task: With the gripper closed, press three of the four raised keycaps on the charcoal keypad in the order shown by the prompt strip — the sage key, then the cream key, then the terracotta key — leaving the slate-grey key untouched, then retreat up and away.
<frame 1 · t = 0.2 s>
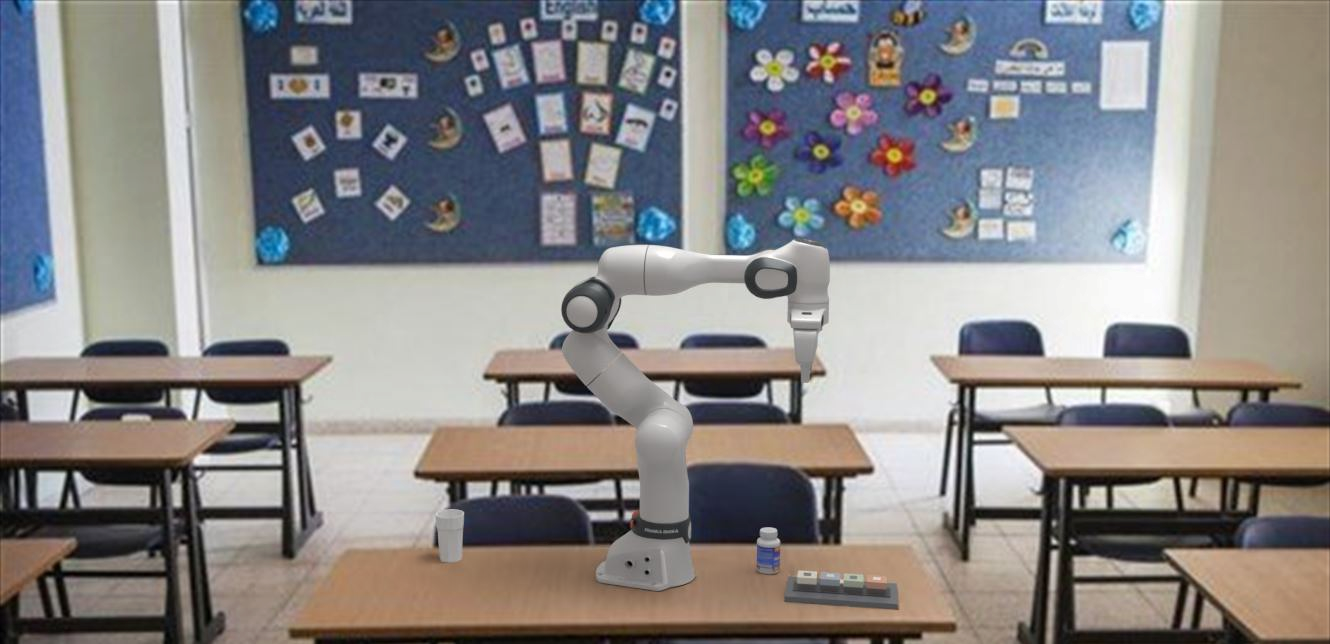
hand: (806, 377, 270), 47 cm above the table, fingers open, 8 cm apart
keypad base: (841, 595, 272), on the table
pill bottle: (768, 571, 287), on the table
sage key: (853, 580, 271), point 4 cm above the table, slide at 0.0 cm
slate key: (830, 578, 272), point 4 cm above the table, slide at 0.0 cm
cup: (450, 559, 293), on the table
terracotta key: (876, 581, 270), point 4 cm above the table, slide at 0.0 cm
cream key: (807, 577, 273), point 4 cm above the table, slide at 0.0 cm
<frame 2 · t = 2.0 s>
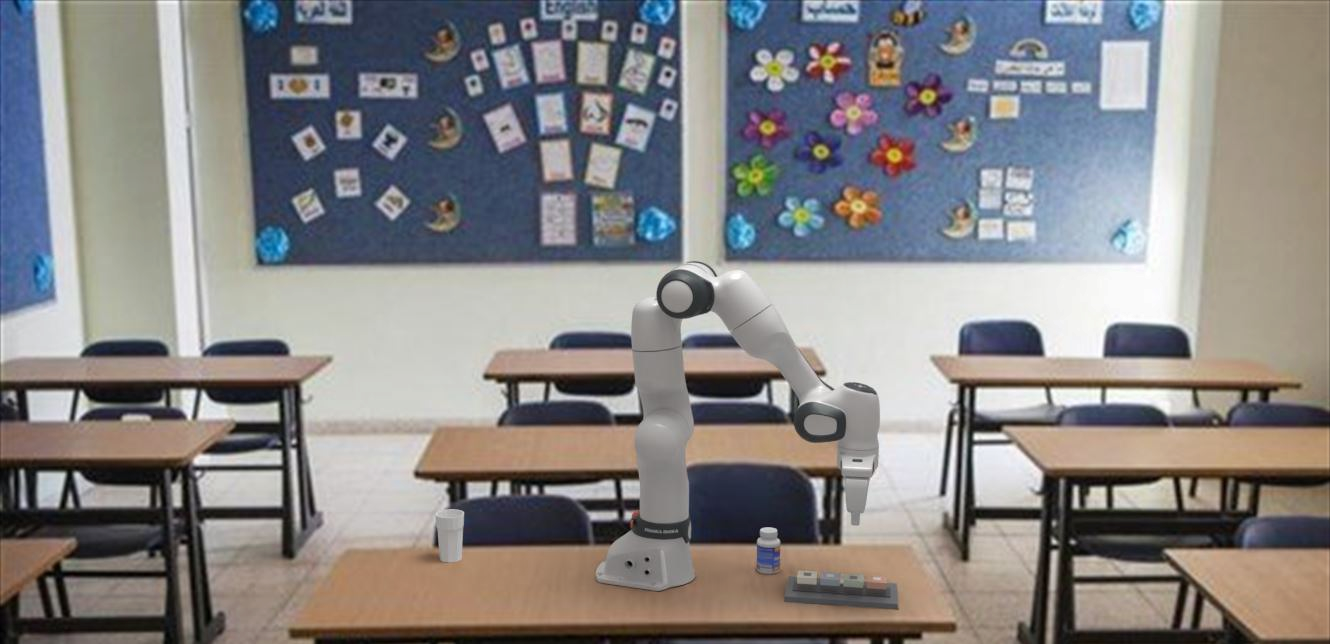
hand: (855, 520, 269), 17 cm above the table, fingers open, 4 cm apart
nothing on the table moved.
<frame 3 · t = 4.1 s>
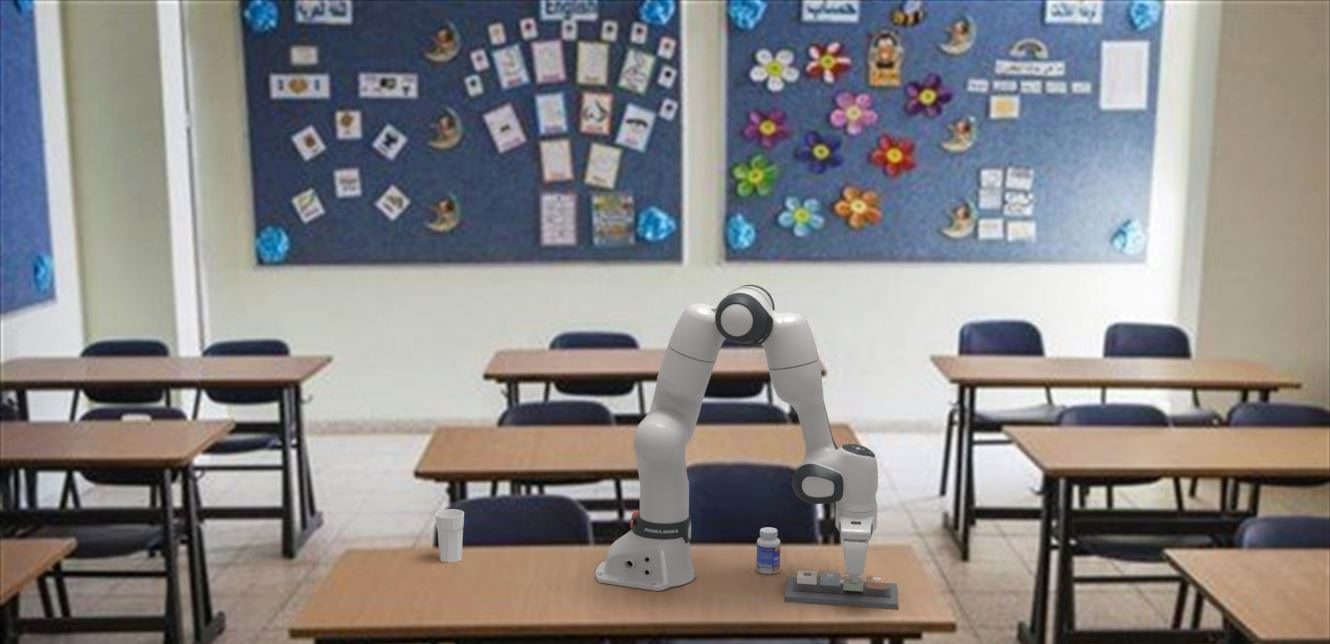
hand: (854, 580, 271), 4 cm above the table, fingers closed, pressing on sage key
sage key: (853, 583, 271), point 3 cm above the table, slide at 0.8 cm, touching gripper
everything else where it was.
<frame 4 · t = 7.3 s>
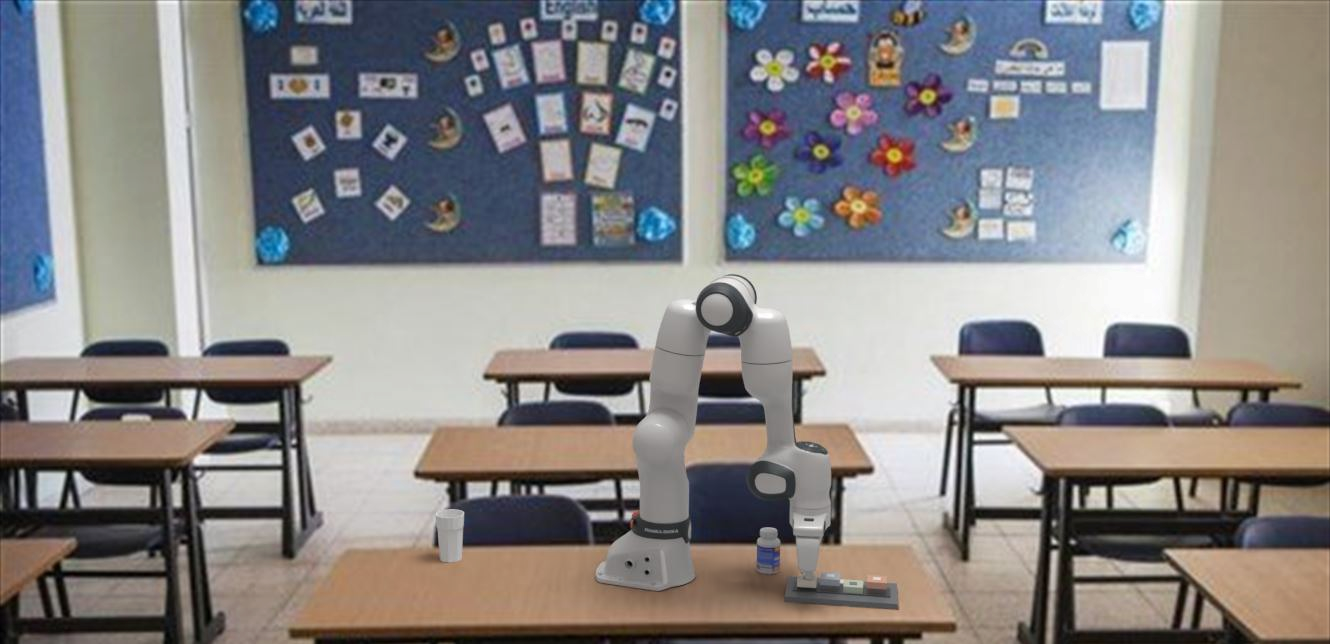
hand: (809, 577, 273), 4 cm above the table, fingers closed, pressing on cream key
sage key: (853, 586, 272), point 2 cm above the table, slide at 1.4 cm, touching keypad base
cream key: (807, 580, 273), point 3 cm above the table, slide at 0.8 cm, touching gripper
everything else where it was.
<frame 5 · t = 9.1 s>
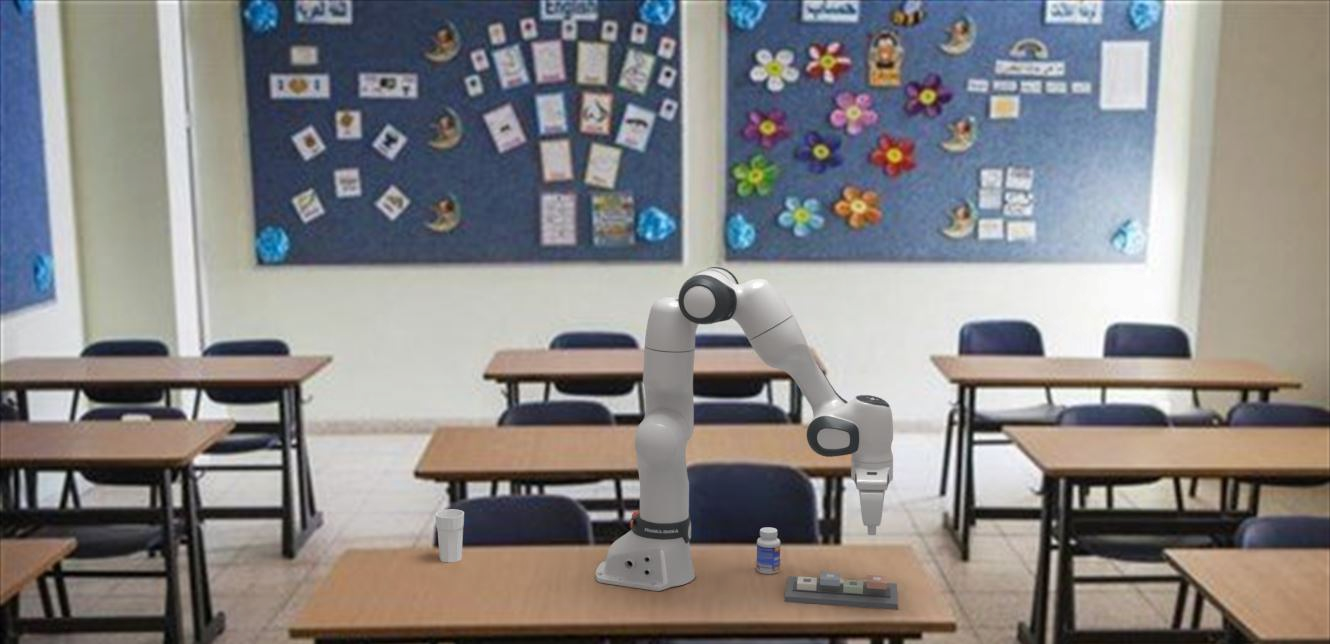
hand: (871, 533, 269), 15 cm above the table, fingers closed
cream key: (807, 583, 273), point 2 cm above the table, slide at 1.4 cm, touching keypad base
everything else where it was.
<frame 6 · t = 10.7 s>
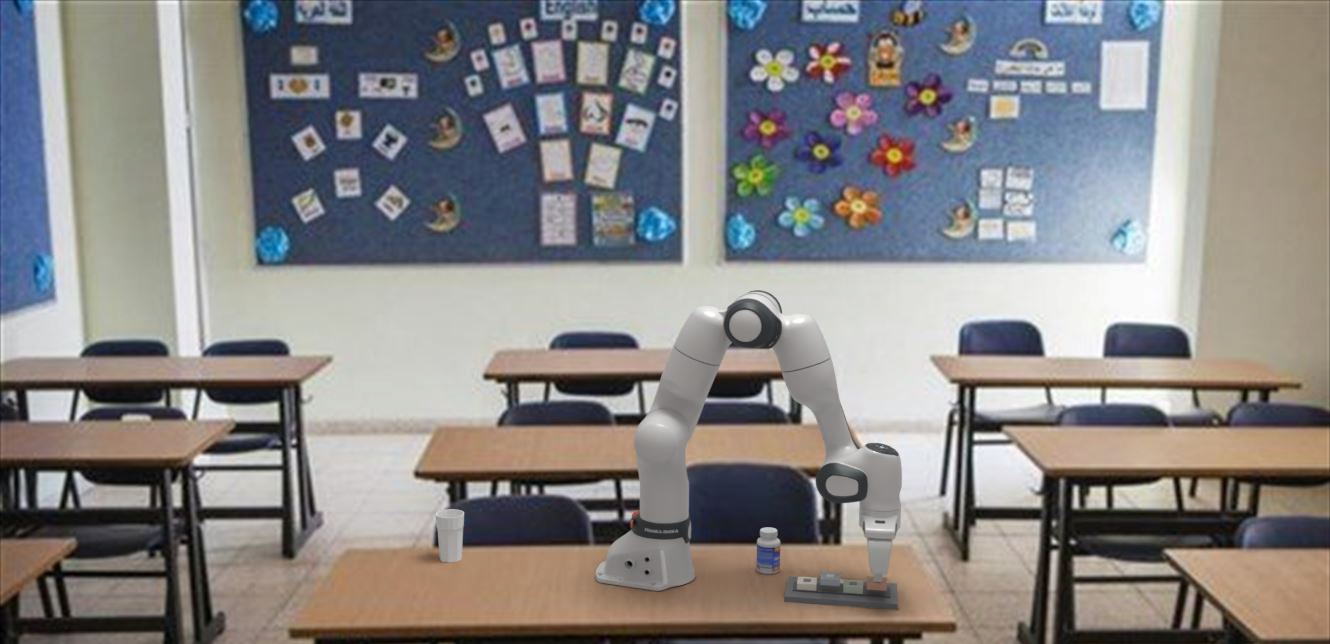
hand: (878, 579, 270), 4 cm above the table, fingers closed, pressing on terracotta key
terracotta key: (876, 583, 271), point 3 cm above the table, slide at 0.3 cm, touching gripper
everything else where it was.
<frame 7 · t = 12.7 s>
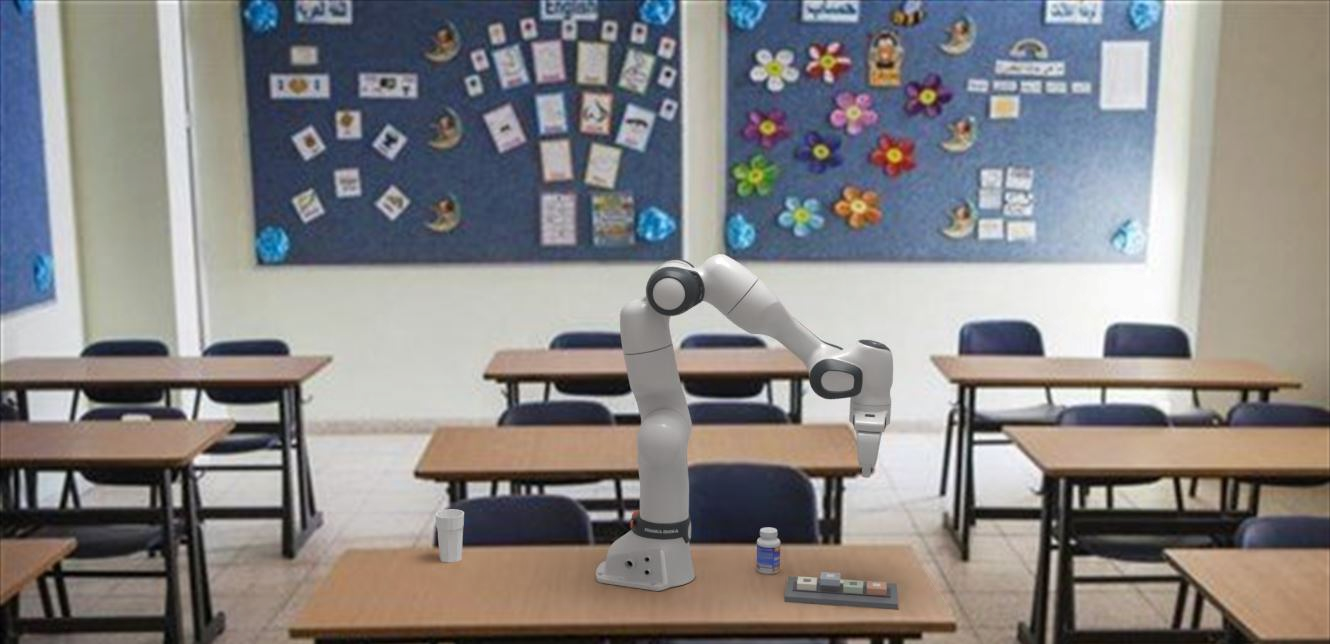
hand: (866, 475, 274), 25 cm above the table, fingers closed
terracotta key: (876, 588, 271), point 2 cm above the table, slide at 1.4 cm, touching keypad base
everything else where it was.
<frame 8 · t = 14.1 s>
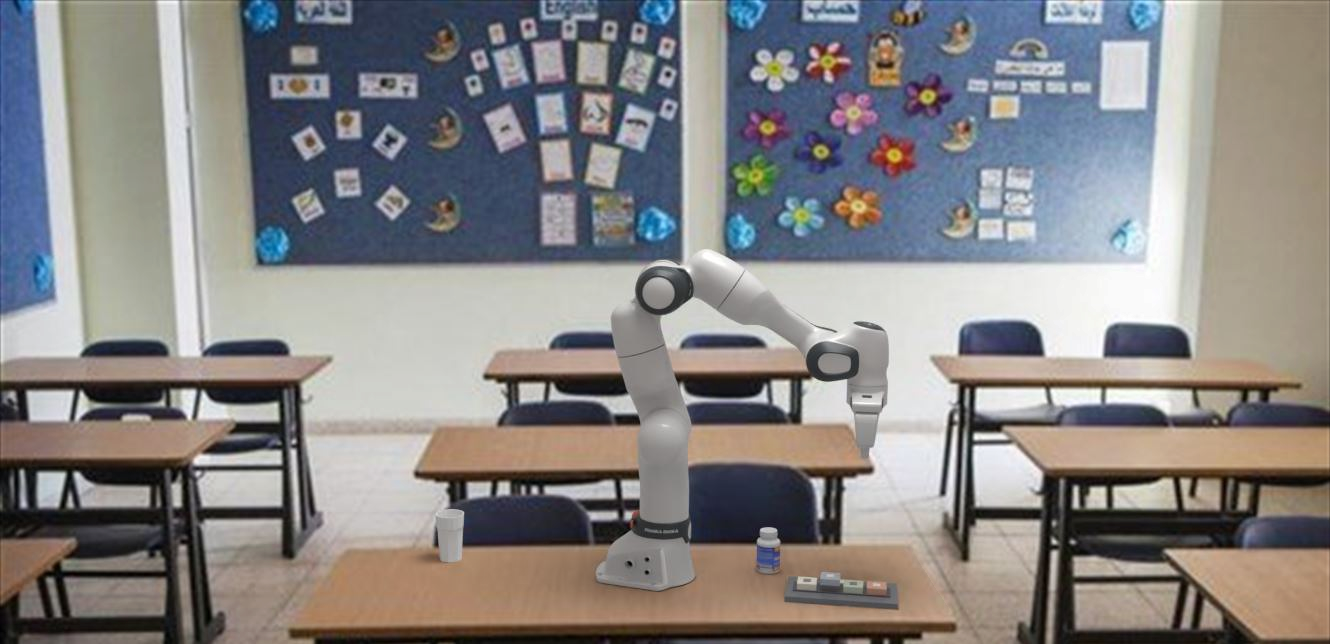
hand: (864, 457, 275), 29 cm above the table, fingers closed
nothing on the table moved.
at the end: sage key slide at 1.4 cm; terracotta key slide at 1.4 cm; slate key slide at 0.0 cm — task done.
